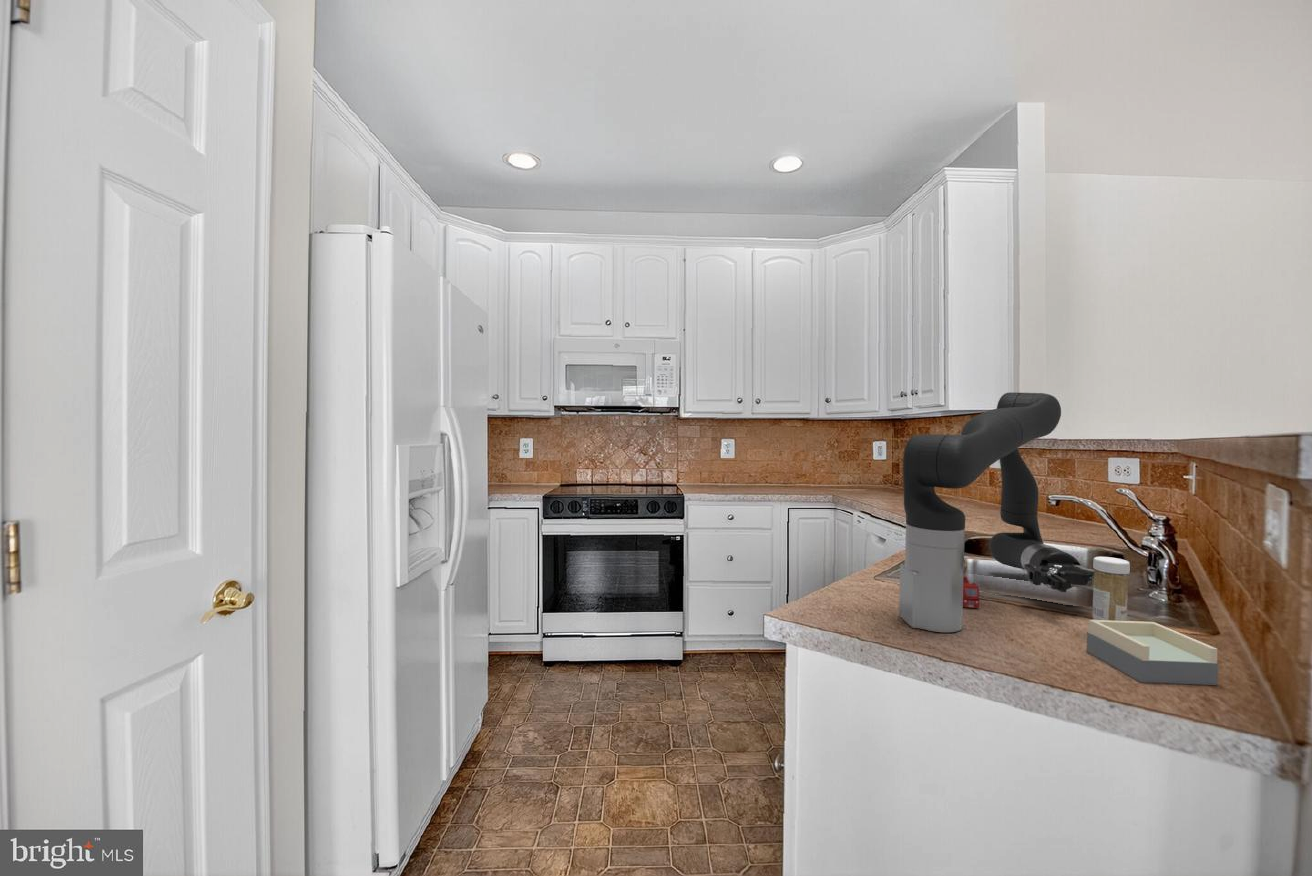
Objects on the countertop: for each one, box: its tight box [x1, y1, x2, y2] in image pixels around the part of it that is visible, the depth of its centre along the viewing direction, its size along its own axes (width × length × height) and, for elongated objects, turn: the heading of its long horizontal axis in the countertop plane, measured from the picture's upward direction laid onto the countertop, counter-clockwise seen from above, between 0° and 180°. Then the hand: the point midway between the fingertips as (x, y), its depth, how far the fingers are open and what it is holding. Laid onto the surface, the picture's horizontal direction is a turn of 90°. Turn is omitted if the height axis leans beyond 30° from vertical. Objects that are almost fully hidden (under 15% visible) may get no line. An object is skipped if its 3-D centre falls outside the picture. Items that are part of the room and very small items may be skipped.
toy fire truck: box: [963, 558, 980, 609], centre depth 109 cm, size 3×14×10 cm, turn 168°
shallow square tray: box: [1086, 619, 1219, 686], centre depth 79 cm, size 10×10×5 cm
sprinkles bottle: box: [1092, 556, 1131, 621], centre depth 88 cm, size 5×5×13 cm
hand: (1093, 588), depth 93 cm, fingers open, 8 cm apart
